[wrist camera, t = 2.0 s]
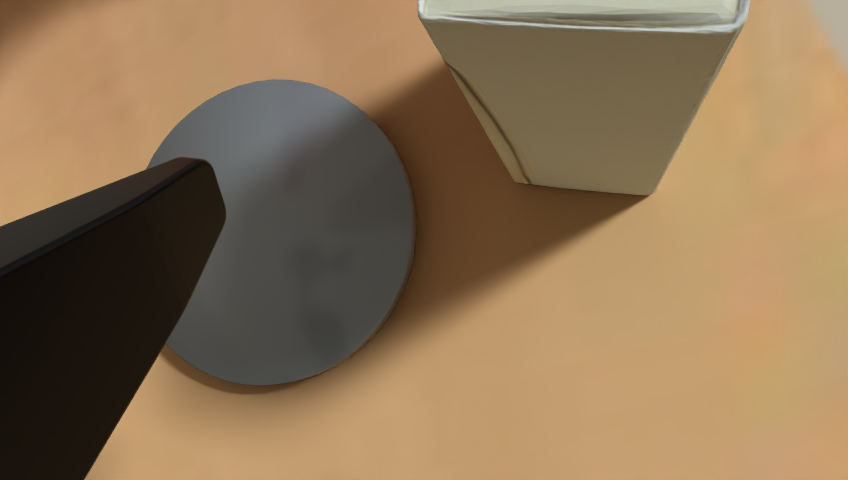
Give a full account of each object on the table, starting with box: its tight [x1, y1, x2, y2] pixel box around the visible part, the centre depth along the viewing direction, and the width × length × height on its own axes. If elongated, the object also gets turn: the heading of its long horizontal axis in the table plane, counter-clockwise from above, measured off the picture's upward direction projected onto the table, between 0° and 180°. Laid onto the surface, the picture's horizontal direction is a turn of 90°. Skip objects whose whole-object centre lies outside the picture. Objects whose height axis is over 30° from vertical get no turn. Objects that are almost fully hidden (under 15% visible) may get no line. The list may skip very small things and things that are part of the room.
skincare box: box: [418, 0, 750, 195], centre depth 15 cm, size 6×4×12 cm
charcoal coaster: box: [146, 80, 417, 385], centre depth 22 cm, size 10×10×1 cm
